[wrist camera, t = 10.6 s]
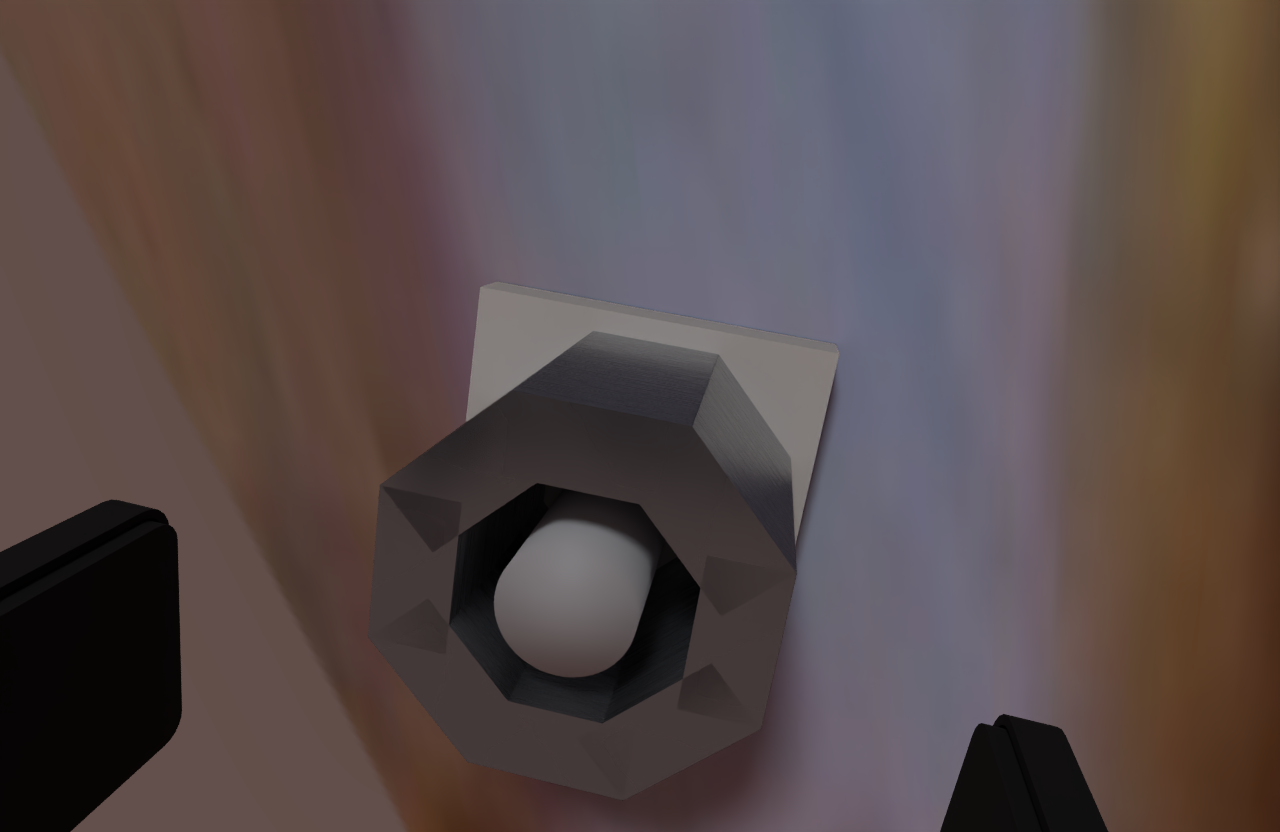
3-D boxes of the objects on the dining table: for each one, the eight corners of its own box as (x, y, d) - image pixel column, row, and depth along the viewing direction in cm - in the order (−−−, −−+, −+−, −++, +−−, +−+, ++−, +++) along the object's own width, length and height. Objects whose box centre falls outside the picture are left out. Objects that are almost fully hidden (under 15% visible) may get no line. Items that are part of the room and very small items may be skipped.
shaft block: (835, 343, 19) (868, 427, 12) (765, 652, 21) (759, 870, 14) (497, 282, 20) (349, 326, 13) (463, 584, 22) (321, 758, 15)
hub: (809, 371, 18) (824, 451, 12) (749, 648, 20) (737, 829, 14) (506, 314, 19) (389, 366, 13) (475, 586, 21) (360, 735, 15)
